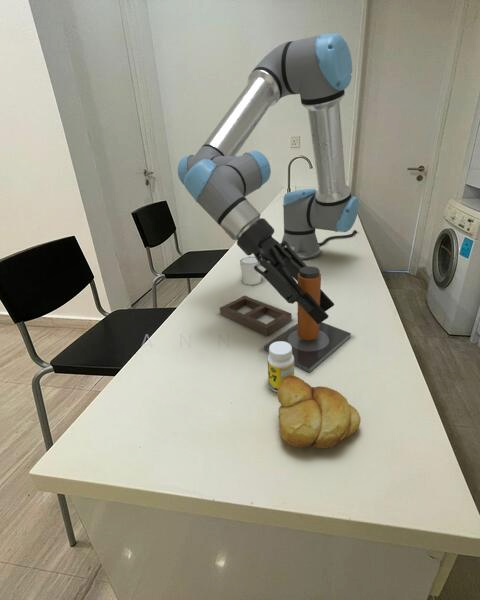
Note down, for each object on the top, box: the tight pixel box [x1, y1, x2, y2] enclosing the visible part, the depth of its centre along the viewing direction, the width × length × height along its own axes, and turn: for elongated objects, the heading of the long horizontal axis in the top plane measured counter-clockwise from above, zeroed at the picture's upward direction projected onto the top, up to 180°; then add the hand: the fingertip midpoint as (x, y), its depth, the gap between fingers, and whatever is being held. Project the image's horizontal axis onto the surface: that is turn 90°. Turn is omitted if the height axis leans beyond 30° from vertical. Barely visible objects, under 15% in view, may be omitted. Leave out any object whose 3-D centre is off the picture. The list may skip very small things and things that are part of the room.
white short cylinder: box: [239, 256, 262, 286], centre depth 103 cm, size 7×7×7 cm
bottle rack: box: [219, 295, 293, 337], centre depth 83 cm, size 9×16×2 cm, turn 49°
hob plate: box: [263, 321, 352, 373], centre depth 73 cm, size 16×12×1 cm
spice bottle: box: [297, 265, 322, 340], centre depth 68 cm, size 5×5×15 cm
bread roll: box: [276, 375, 362, 449], centre depth 50 cm, size 13×10×8 cm
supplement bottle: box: [267, 341, 295, 393], centre depth 59 cm, size 5×5×8 cm
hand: (326, 313), depth 68 cm, fingers closed on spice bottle, 5 cm apart
